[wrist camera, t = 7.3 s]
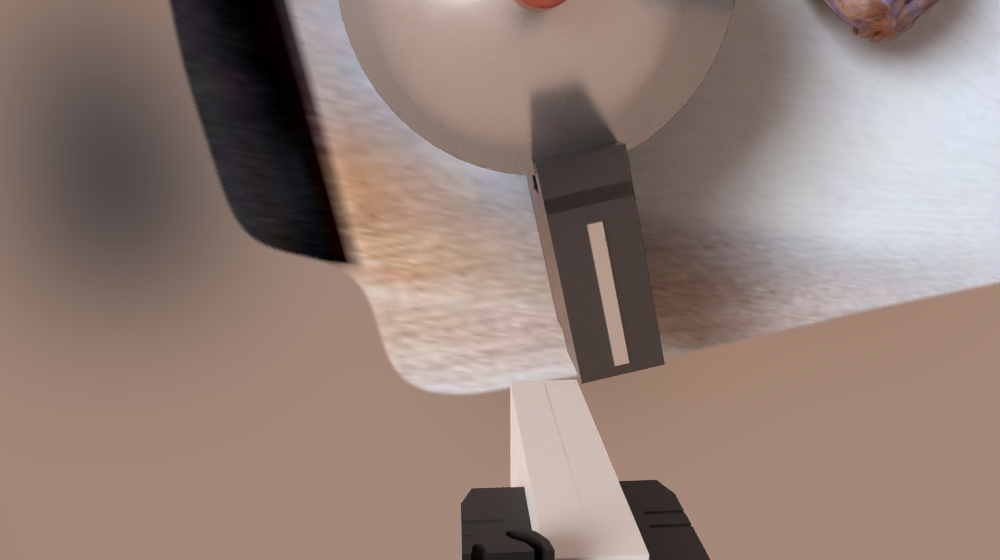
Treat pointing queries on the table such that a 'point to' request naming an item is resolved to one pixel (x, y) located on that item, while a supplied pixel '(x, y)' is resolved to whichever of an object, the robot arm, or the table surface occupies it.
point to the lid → (553, 127)
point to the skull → (879, 16)
